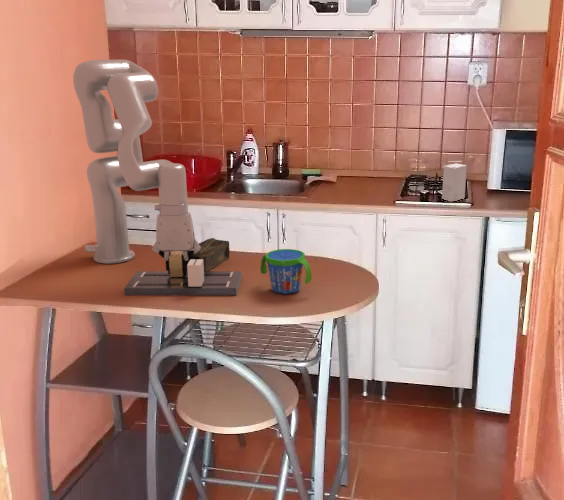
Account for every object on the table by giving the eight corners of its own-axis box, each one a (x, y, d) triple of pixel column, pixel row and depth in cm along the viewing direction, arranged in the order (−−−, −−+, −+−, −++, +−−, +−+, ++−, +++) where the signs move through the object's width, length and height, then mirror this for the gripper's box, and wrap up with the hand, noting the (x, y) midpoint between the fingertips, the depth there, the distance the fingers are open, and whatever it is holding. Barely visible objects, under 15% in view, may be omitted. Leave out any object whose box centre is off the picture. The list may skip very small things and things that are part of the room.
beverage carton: (231, 258, 213) (230, 238, 211) (200, 278, 196) (199, 256, 194) (208, 256, 216) (207, 236, 214) (176, 274, 199) (175, 253, 197)
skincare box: (453, 197, 290) (455, 162, 285) (465, 200, 285) (467, 164, 281) (441, 200, 285) (442, 165, 280) (452, 203, 280) (455, 167, 276)
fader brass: (170, 276, 190) (168, 255, 188) (173, 270, 194) (172, 250, 193) (182, 276, 189) (181, 255, 188) (185, 270, 194) (184, 250, 192)
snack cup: (251, 288, 186) (250, 253, 183) (278, 279, 193) (277, 244, 190) (294, 302, 176) (293, 264, 173) (320, 291, 183) (320, 255, 180)
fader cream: (188, 286, 182) (187, 264, 180) (191, 280, 186) (190, 259, 185) (201, 286, 182) (200, 264, 180) (204, 280, 186) (203, 258, 185)
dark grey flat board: (124, 295, 183) (123, 287, 182) (137, 278, 196) (136, 271, 195) (236, 295, 181) (236, 287, 181) (241, 277, 195) (241, 270, 194)
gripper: (140, 212, 183) (145, 277, 189) (202, 212, 183) (205, 277, 188) (147, 206, 190) (151, 268, 196) (206, 205, 190) (209, 268, 195)
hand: (178, 272), depth 192 cm, fingers closed on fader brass, 3 cm apart
